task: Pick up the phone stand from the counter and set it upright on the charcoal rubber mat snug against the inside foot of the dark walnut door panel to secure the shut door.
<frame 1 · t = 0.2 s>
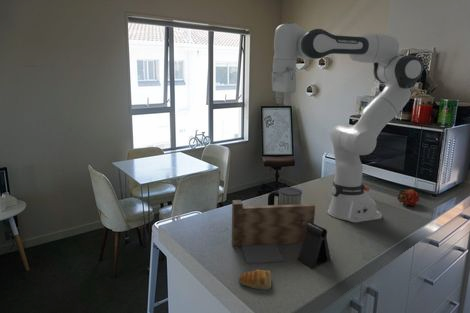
hand: (282, 104, 134), 48 cm above the worktop, tool pointing down, fingers open, 8 cm apart
phone stand: (314, 261, 110), on the worktop
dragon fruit: (407, 205, 162), on the worktop
door mat: (261, 253, 114), on the worktop
milk frother: (280, 228, 134), on the worktop
door panel: (276, 243, 121), on the worktop
pastry: (257, 284, 97), on the worktop
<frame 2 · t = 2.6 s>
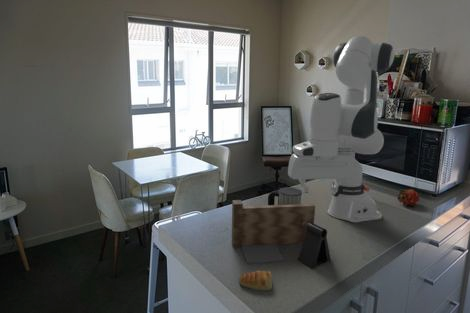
hand: (319, 192, 105), 23 cm above the worktop, tool pointing down, fingers open, 8 cm apart
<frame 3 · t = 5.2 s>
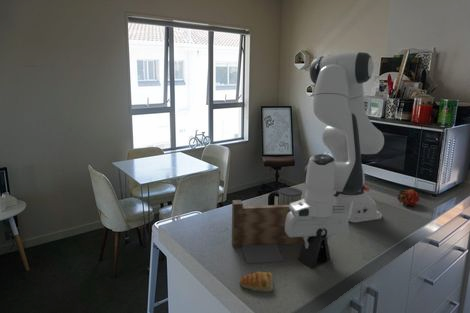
hand: (315, 247, 109), 5 cm above the worktop, tool pointing down, fingers closed on phone stand, 4 cm apart
phone stand: (314, 260, 110), on the worktop, touching gripper
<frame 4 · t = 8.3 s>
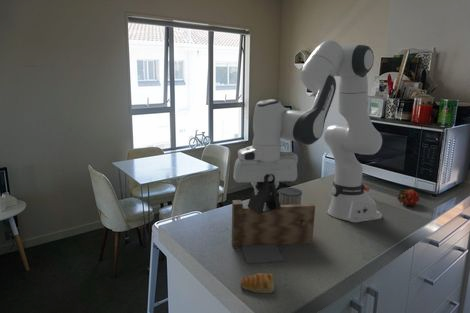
hand: (264, 194, 109), 21 cm above the worktop, tool pointing down, fingers closed on phone stand, 4 cm apart
phone stand: (264, 208, 110), point 16 cm above the worktop, touching gripper
when the fingers open (6 cm above the worktop, at t = 11.7 s): phone stand drops 1 cm, resting on door mat.
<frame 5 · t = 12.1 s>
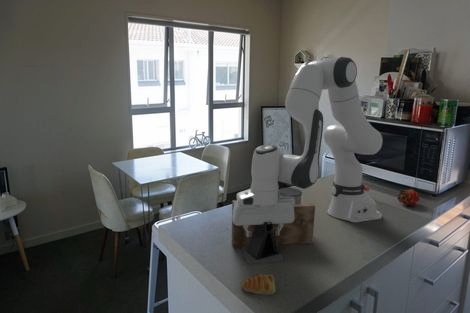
hand: (262, 235, 112), 7 cm above the worktop, tool pointing down, fingers open, 8 cm apart
phone stand: (263, 253, 114), resting on door mat
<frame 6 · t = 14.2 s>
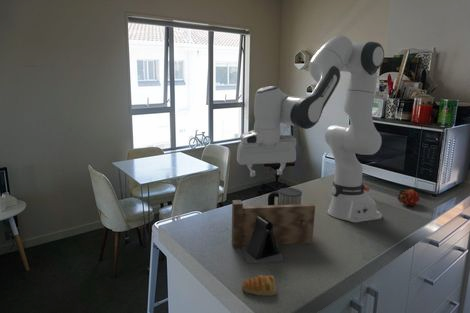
hand: (266, 175, 117), 25 cm above the worktop, tool pointing down, fingers open, 8 cm apart
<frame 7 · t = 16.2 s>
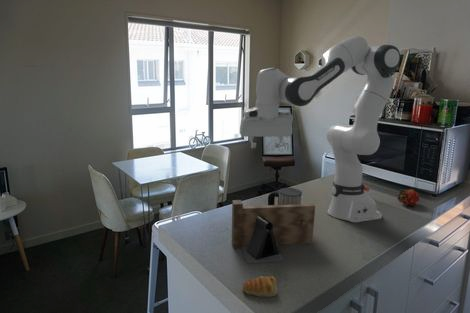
hand: (265, 147, 132), 31 cm above the worktop, tool pointing down, fingers open, 8 cm apart
at the end: phone stand inside the target area (0.3 cm from its centre), resting on door mat; phone stand tilted 0°; the gripper is holding nothing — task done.
